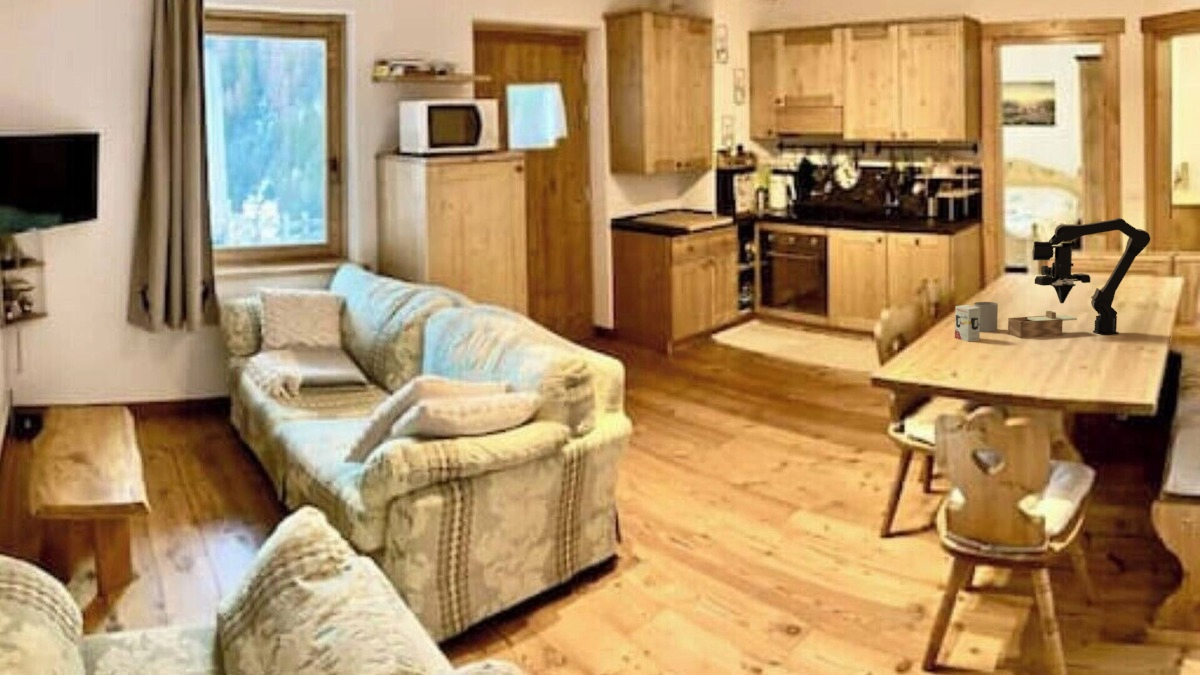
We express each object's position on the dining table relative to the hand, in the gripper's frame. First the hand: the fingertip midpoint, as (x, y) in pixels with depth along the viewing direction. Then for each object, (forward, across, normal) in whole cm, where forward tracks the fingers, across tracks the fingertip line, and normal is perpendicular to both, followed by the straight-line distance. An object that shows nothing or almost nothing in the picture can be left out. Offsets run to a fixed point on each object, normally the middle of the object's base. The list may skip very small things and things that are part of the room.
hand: (1061, 303), depth 434 cm
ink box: (+11, +36, 0) cm, 38 cm away
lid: (+6, +4, 0) cm, 7 cm away
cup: (+11, +22, -14) cm, 28 cm away
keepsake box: (+11, +10, 0) cm, 15 cm away
